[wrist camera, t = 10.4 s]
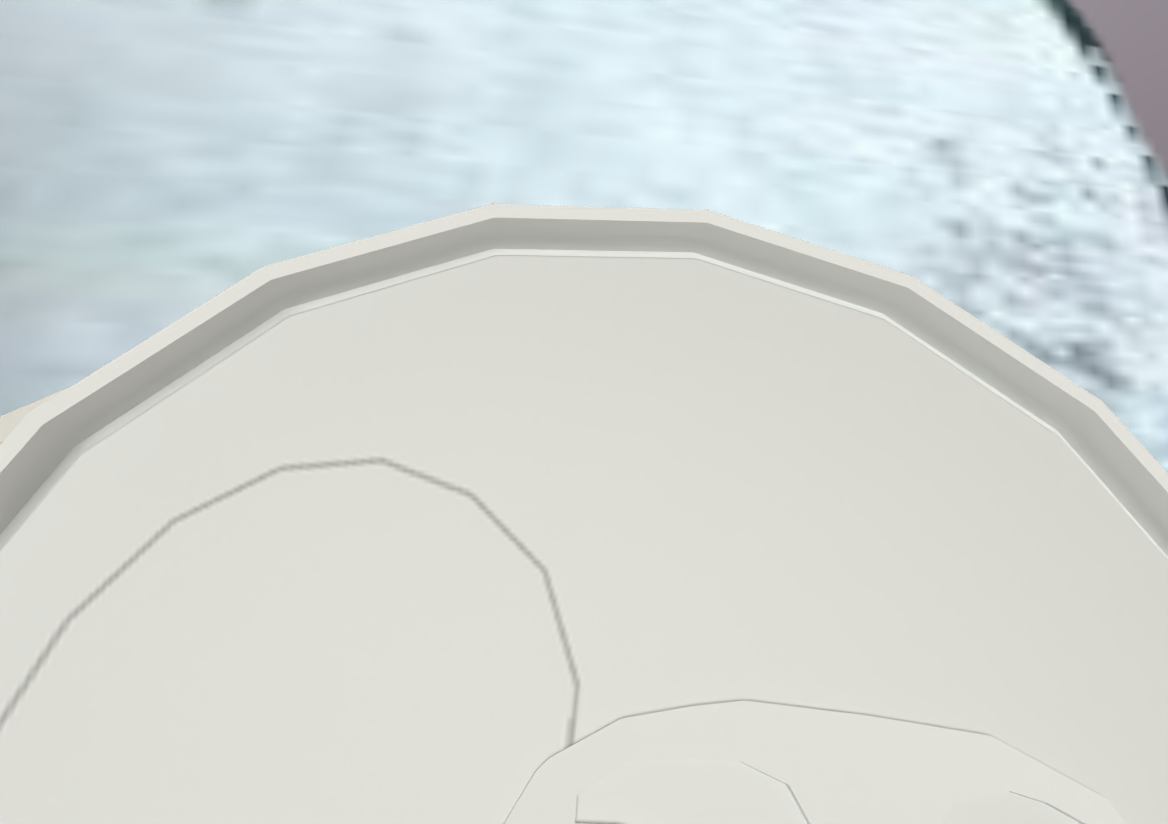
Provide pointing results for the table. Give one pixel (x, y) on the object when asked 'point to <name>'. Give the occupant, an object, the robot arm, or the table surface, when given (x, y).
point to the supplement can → (581, 549)
